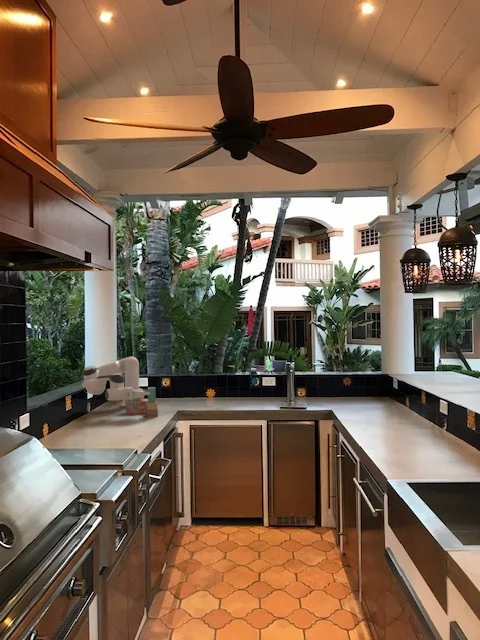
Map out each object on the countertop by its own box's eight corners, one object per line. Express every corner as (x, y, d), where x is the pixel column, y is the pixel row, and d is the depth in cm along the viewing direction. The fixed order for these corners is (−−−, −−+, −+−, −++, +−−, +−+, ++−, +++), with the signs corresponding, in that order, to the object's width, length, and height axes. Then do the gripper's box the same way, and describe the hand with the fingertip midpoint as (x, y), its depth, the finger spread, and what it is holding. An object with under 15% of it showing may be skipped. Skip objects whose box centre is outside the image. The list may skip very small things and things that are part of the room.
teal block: (147, 401, 343) (147, 387, 343) (154, 401, 345) (154, 387, 345) (148, 402, 339) (148, 388, 339) (155, 402, 340) (155, 388, 340)
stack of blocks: (156, 411, 358) (155, 395, 358) (152, 413, 352) (152, 396, 352) (129, 411, 362) (128, 394, 362) (125, 412, 356) (125, 396, 356)
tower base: (145, 415, 344) (145, 408, 344) (156, 414, 347) (156, 407, 347) (146, 417, 337) (146, 410, 337) (158, 416, 339) (157, 409, 339)
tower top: (146, 408, 344) (146, 401, 344) (156, 407, 346) (156, 400, 346) (147, 410, 338) (146, 403, 338) (157, 409, 339) (157, 402, 339)
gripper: (128, 395, 347) (148, 394, 351) (130, 400, 328) (151, 398, 332) (128, 386, 347) (148, 385, 351) (130, 390, 328) (151, 389, 332)
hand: (149, 392), depth 341 cm, fingers open, 8 cm apart
